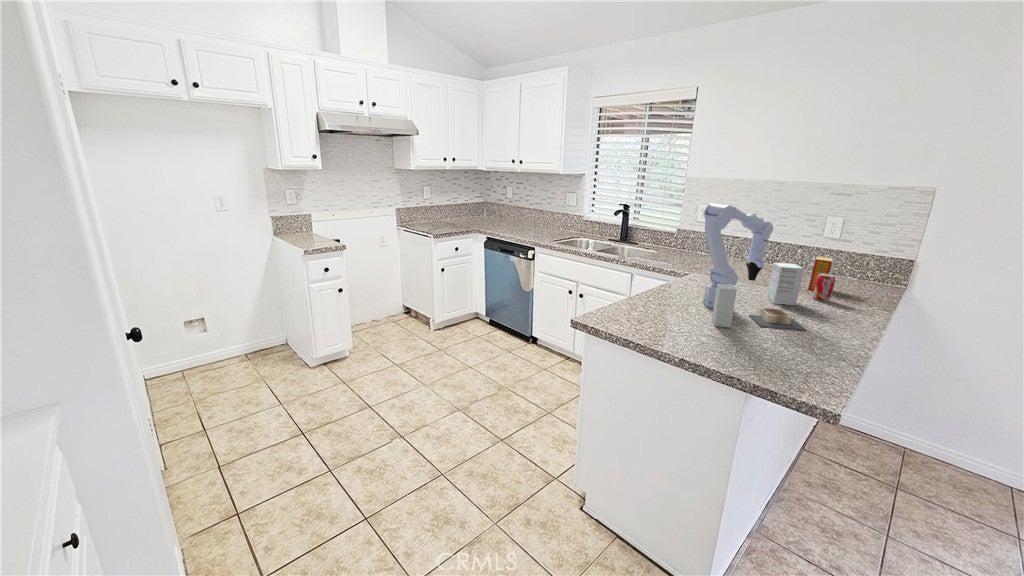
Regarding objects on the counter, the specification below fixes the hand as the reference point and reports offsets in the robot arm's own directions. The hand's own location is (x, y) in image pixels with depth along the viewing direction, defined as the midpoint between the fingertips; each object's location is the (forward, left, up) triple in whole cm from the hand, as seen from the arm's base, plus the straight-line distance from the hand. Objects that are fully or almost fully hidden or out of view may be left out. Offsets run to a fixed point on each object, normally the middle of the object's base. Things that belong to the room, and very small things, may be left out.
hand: (751, 280), depth 187 cm
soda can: (+36, +14, -11) cm, 40 cm away
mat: (+3, -24, -10) cm, 26 cm away
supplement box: (+16, +6, -11) cm, 20 cm away
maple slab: (+3, -17, -8) cm, 19 cm away
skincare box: (-19, -30, -11) cm, 37 cm away
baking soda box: (+43, +33, -11) cm, 55 cm away
